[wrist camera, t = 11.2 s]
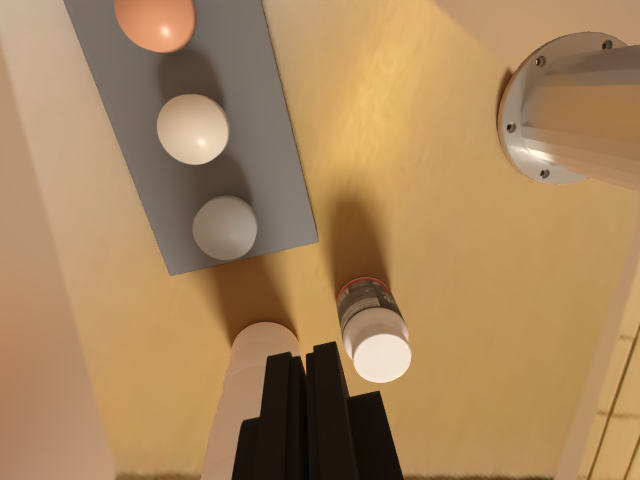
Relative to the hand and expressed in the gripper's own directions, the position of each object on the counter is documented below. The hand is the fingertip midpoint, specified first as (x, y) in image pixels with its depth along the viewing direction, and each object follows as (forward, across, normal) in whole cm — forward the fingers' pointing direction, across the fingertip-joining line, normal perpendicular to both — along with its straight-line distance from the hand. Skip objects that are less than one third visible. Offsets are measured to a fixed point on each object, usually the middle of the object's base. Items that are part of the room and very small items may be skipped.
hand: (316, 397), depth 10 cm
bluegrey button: (+25, +7, +2) cm, 26 cm away
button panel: (+29, +7, -6) cm, 31 cm away
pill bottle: (+29, -3, +14) cm, 33 cm away
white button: (+25, +7, -6) cm, 27 cm away
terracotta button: (+25, +7, -14) cm, 30 cm away
